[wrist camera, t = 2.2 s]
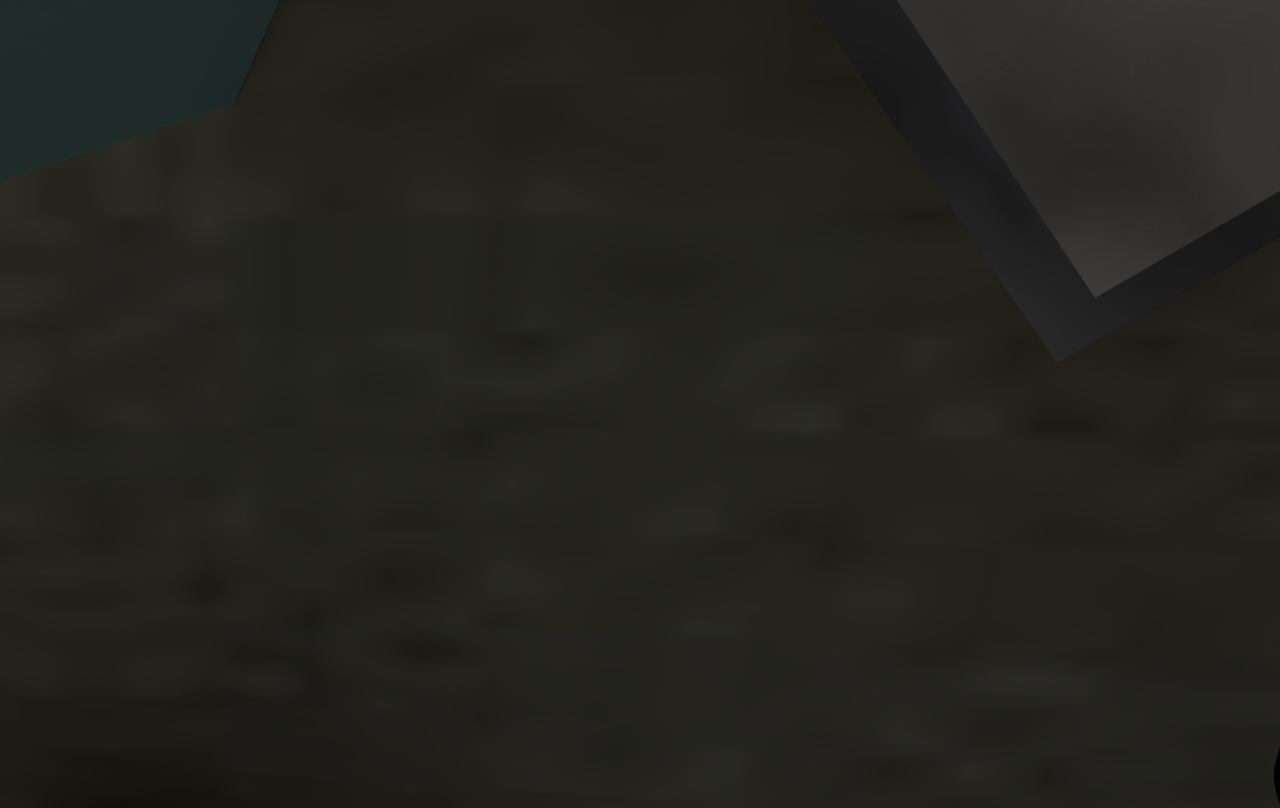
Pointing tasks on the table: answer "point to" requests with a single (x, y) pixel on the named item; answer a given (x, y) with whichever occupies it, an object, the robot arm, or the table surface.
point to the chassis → (1085, 139)
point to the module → (115, 70)
